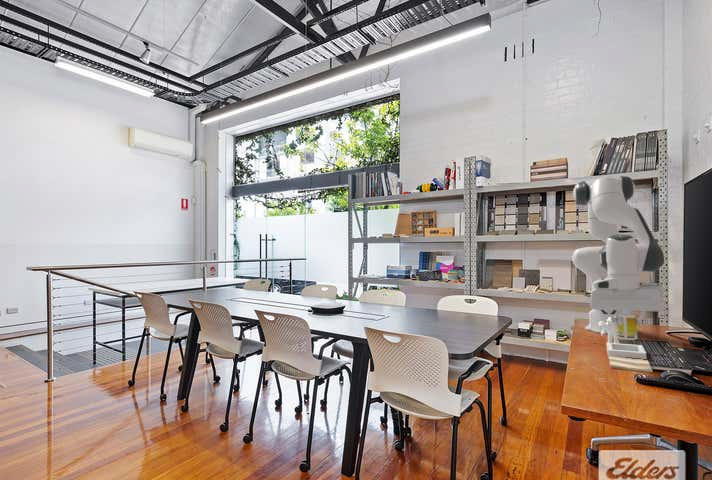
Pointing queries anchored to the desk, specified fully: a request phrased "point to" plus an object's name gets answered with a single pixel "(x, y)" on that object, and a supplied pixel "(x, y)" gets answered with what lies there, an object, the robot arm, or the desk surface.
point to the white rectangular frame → (625, 350)
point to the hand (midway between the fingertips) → (626, 323)
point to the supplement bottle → (626, 325)
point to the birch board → (630, 364)
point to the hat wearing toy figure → (609, 330)
